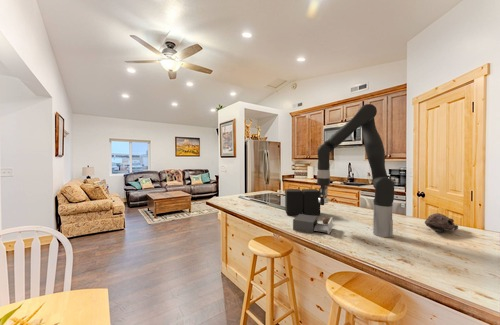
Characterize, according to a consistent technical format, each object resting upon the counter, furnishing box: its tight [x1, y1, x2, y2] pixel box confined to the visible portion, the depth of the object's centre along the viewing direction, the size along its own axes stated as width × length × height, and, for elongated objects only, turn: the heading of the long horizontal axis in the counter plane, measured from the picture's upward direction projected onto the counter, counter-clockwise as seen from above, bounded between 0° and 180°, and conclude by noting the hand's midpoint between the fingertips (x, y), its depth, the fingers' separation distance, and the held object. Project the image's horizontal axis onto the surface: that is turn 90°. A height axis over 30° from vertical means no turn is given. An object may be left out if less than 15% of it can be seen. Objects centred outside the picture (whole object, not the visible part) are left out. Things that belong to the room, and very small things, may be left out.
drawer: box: [314, 216, 333, 235], centre depth 131 cm, size 9×13×6 cm
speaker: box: [284, 188, 321, 216], centre depth 168 cm, size 25×11×19 cm, turn 88°
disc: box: [318, 197, 329, 204], centre depth 134 cm, size 6×6×2 cm
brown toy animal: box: [424, 212, 459, 233], centre depth 127 cm, size 25×12×10 cm, turn 121°
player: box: [292, 213, 319, 234], centre depth 136 cm, size 12×14×6 cm
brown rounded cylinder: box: [322, 217, 330, 225], centre depth 144 cm, size 4×4×4 cm
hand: (323, 203), depth 134 cm, fingers closed on disc, 6 cm apart
